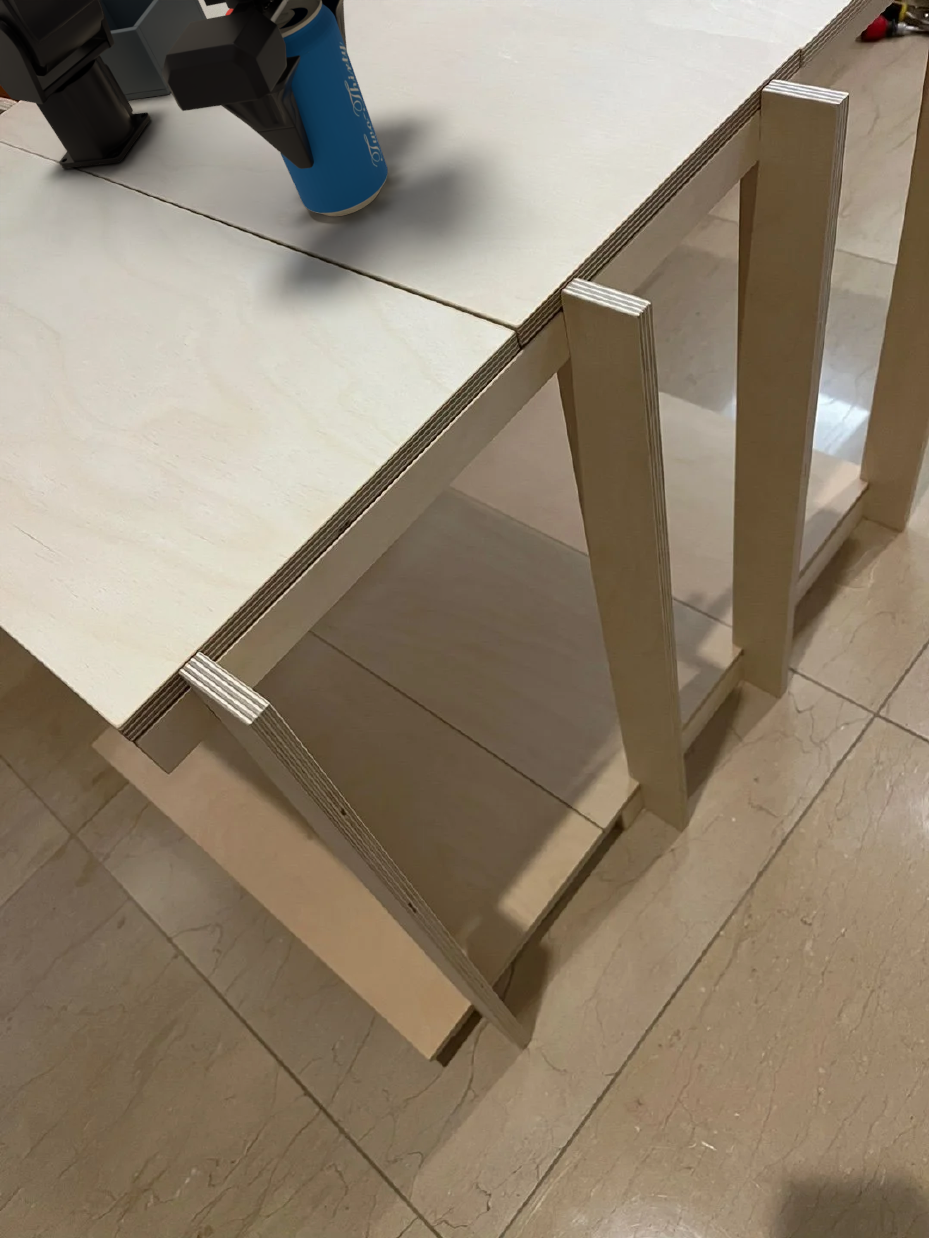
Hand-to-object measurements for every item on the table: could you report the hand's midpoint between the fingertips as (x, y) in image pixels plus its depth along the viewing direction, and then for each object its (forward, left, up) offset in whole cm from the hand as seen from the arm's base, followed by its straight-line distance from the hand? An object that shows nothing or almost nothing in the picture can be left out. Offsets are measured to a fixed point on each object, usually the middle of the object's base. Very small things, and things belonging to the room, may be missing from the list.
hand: (325, 132), depth 60 cm
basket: (+22, +29, -5) cm, 37 cm away
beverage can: (0, 0, -5) cm, 5 cm away
